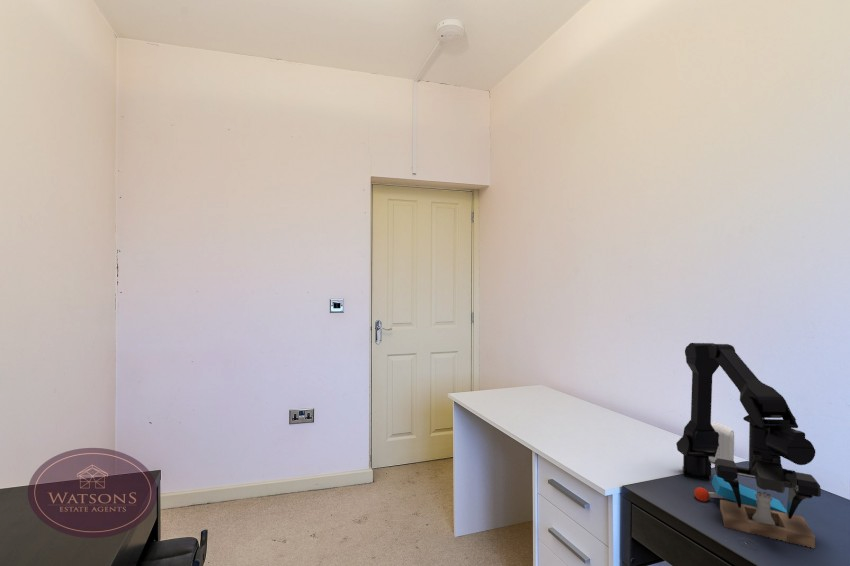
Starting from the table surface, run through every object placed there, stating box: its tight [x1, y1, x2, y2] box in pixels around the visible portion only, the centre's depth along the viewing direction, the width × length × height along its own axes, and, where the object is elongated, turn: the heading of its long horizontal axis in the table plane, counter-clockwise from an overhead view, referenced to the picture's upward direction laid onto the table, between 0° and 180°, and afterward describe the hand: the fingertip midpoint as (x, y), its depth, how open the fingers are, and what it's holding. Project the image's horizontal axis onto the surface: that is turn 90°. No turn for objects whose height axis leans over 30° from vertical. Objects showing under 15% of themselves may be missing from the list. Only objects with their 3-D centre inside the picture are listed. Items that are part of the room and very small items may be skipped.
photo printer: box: [709, 421, 735, 464], centre depth 135 cm, size 10×4×12 cm, turn 35°
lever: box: [693, 473, 787, 513], centre depth 108 cm, size 7×7×18 cm
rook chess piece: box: [751, 490, 776, 526], centre depth 99 cm, size 4×4×8 cm
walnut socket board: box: [719, 498, 816, 549], centre depth 98 cm, size 16×9×2 cm, turn 61°
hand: (763, 512), depth 98 cm, fingers open, 9 cm apart
